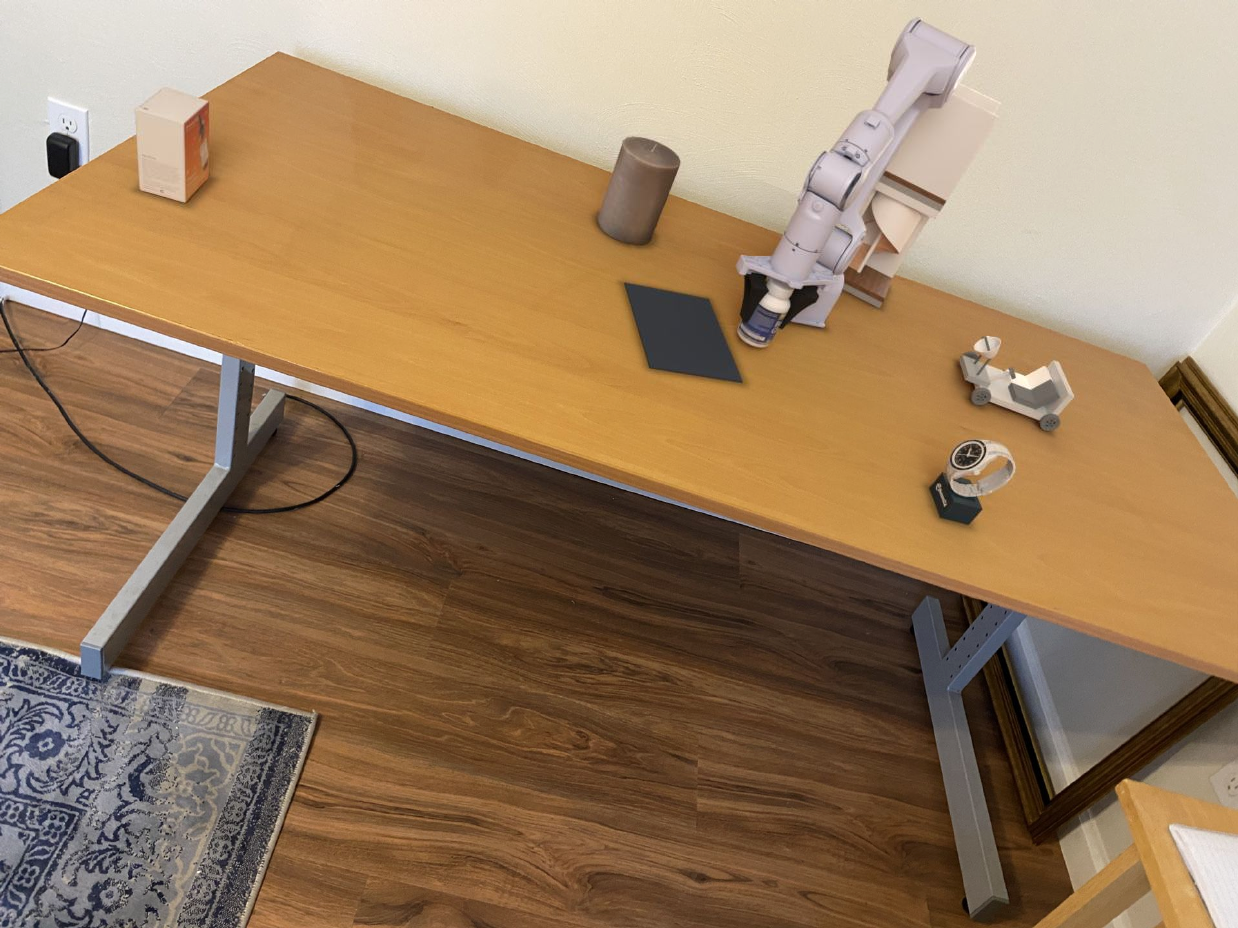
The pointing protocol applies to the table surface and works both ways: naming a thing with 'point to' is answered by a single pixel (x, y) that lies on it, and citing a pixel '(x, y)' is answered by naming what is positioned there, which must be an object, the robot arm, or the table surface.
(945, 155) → the tall cream cabinet
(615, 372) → the table surface
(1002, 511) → the table surface
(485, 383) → the table surface
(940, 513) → the watch
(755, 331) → the pill bottle
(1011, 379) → the toy car
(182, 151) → the small box
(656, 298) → the felt mat
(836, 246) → the robot arm
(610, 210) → the pillar candle
